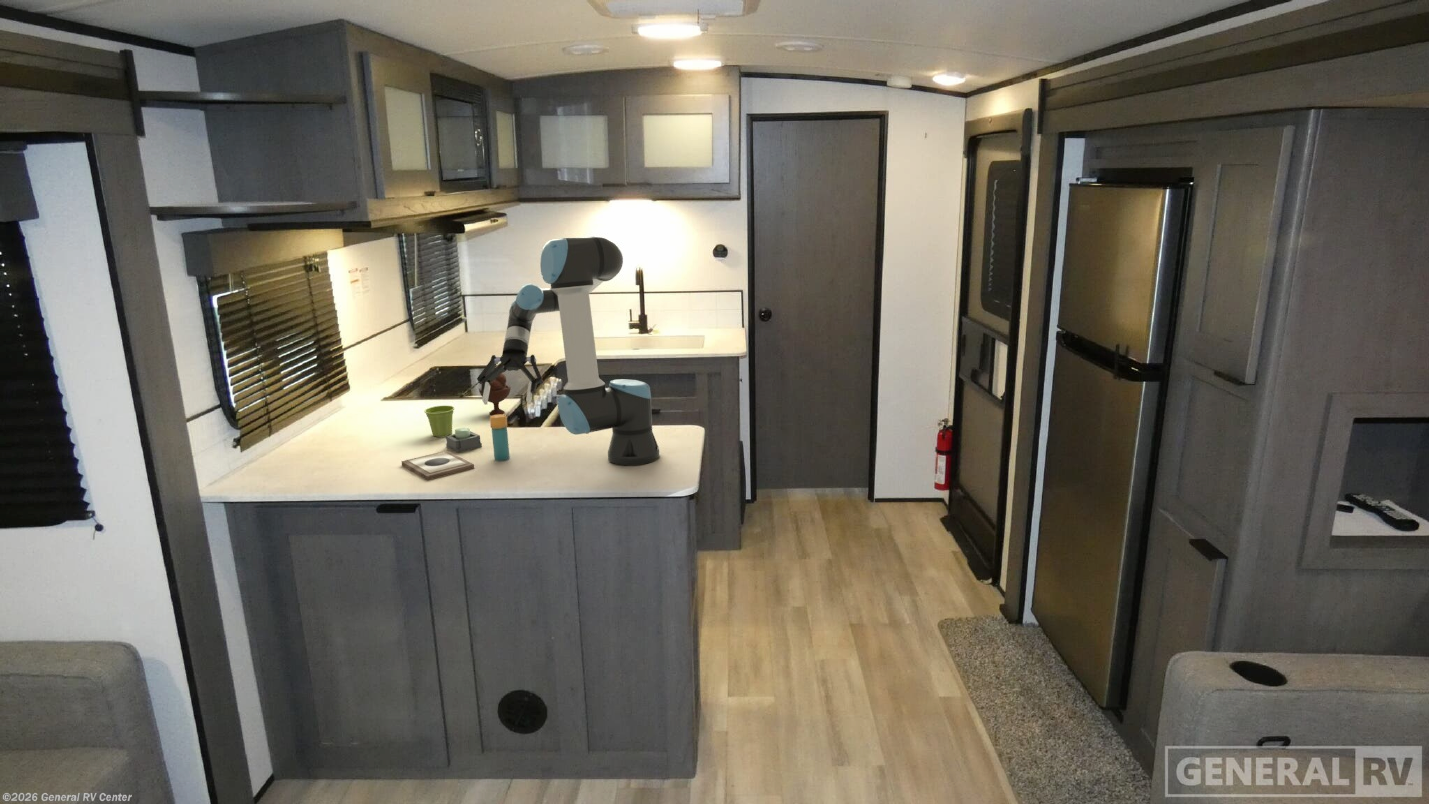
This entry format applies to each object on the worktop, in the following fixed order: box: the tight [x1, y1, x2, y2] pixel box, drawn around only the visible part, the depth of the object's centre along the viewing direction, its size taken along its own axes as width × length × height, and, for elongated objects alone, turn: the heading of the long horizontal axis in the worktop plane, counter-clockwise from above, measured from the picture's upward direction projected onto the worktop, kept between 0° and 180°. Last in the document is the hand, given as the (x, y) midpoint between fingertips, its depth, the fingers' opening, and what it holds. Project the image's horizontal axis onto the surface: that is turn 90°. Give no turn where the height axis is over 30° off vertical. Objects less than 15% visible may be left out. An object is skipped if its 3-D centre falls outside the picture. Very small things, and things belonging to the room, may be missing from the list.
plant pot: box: [424, 405, 455, 438], centre depth 278 cm, size 9×9×9 cm
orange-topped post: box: [489, 414, 511, 462], centre depth 252 cm, size 5×5×13 cm
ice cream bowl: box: [478, 373, 511, 416], centre depth 301 cm, size 11×11×15 cm
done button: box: [454, 427, 471, 440], centre depth 265 cm, size 4×4×3 cm
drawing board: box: [400, 450, 475, 481], centre depth 248 cm, size 18×14×2 cm
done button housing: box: [445, 431, 483, 453], centre depth 265 cm, size 8×8×4 cm
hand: (506, 402), depth 260 cm, fingers open, 13 cm apart
